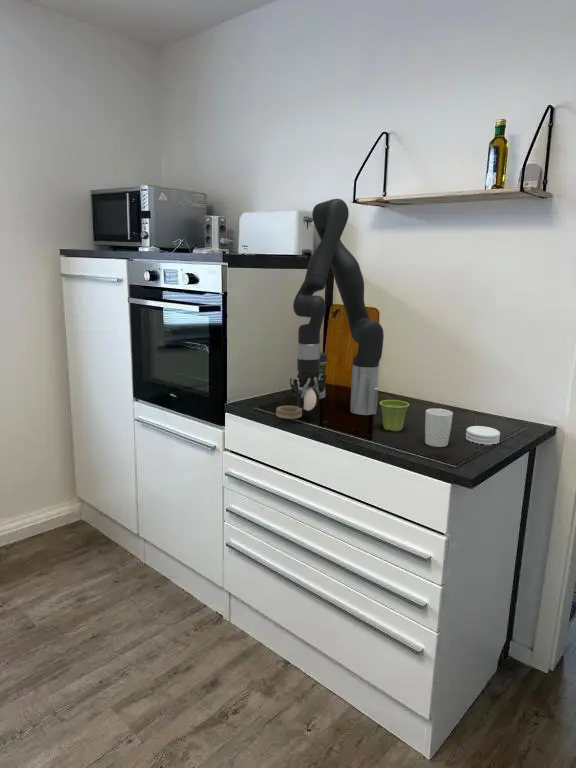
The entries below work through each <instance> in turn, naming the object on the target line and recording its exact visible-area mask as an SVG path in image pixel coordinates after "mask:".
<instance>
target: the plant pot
mask: <svg viewBox="0 0 576 768" xmlns="http://www.w3.org/2000/svg"><path fill="white" fill-rule="evenodd" d="M379 405H380V407H381V408H380V409H381V412H382V424H383V429H384V430H385V431H390V432H400V431H401V430H403V427H404V425H405V424H404V423H405V422H404V421H405V418H406V413H407V411H408V408H409V407H410V404H409V403H408V402H407V401H403V400H398V399H385V400H381V401H380V402H379Z"/></svg>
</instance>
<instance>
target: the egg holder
mask: <svg viewBox="0 0 576 768" xmlns="http://www.w3.org/2000/svg"><path fill="white" fill-rule="evenodd" d="M275 415H276V417H278V418H282V419H290V420H291V419H299V418H301V417H303V416H302V415H303V408H302V409H301V408H299V407H298V406H296V405H280V406H278V407H276V410H275Z"/></svg>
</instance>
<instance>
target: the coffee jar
mask: <svg viewBox="0 0 576 768" xmlns="http://www.w3.org/2000/svg"><path fill="white" fill-rule="evenodd" d="M327 358H328V357H327V354H326V353H324V352H322V351H320V371H319V374H324V375H326V367H327V364H328V361H327V360H328V359H327ZM317 382H318V380H317ZM302 388H303V387H302ZM301 391H302V390H301ZM325 398H326V386H325V387H324V392H321V393H320V394H319V401H320V400H323V399H325Z"/></svg>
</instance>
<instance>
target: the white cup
mask: <svg viewBox="0 0 576 768" xmlns="http://www.w3.org/2000/svg"><path fill="white" fill-rule="evenodd" d="M453 415H454V412H453V411H451V410H448V409H444V408H428V409H425V417H424V418H425V419H424V420H425V421H424V422H425V424H424V425H425V426H424V434H425V435H424V436H425V437H424V443H425V445H428V446H430V447H436V448H437V447H438V448H445V447H447V446H448V445H449V441H450V439H449V438H450V436H451V430H452V423H453Z"/></svg>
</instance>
